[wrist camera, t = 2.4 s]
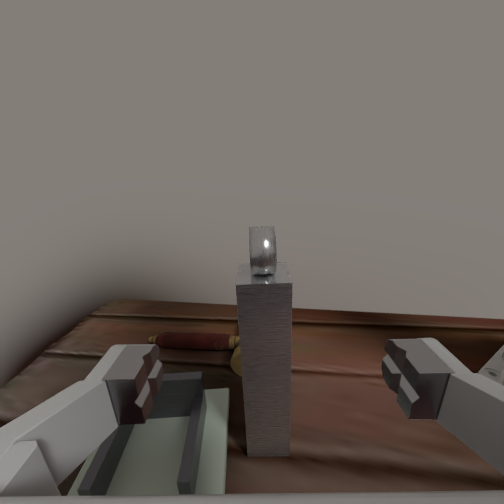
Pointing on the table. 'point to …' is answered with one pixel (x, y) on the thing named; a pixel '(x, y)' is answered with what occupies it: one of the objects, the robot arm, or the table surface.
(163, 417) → the keeper bracket
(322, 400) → the table surface
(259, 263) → the steel link
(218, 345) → the gavel
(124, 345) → the robot arm
